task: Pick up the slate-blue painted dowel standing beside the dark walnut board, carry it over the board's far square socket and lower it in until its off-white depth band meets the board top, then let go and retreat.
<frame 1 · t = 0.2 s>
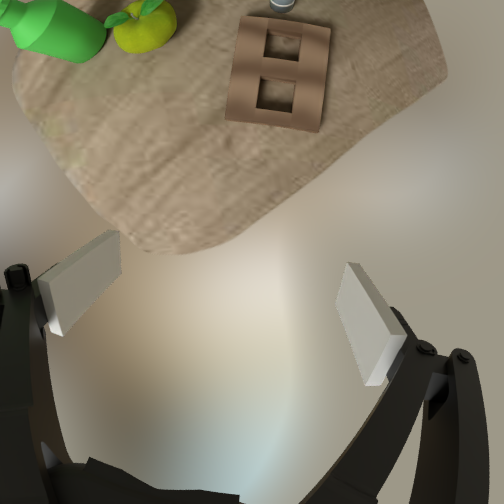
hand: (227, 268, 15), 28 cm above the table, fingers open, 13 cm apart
board: (278, 72, 34), on the table
fruit: (156, 36, 32), on the table
bottle: (89, 43, 32), on the table
peg: (281, 4, 29), on the table
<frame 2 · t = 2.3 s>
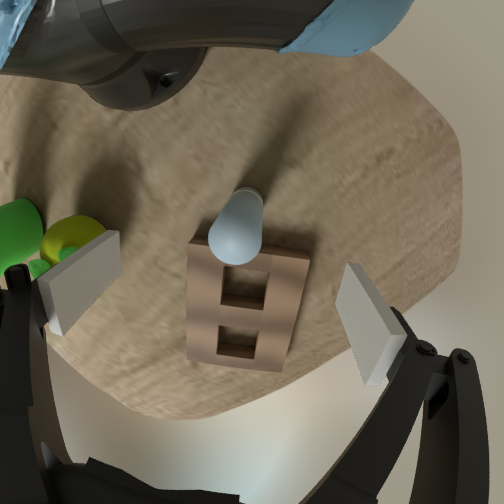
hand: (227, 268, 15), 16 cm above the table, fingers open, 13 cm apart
board: (241, 306, 35), on the table
fruit: (97, 241, 33), on the table
bottle: (29, 224, 32), on the table
peg: (246, 203, 30), on the table
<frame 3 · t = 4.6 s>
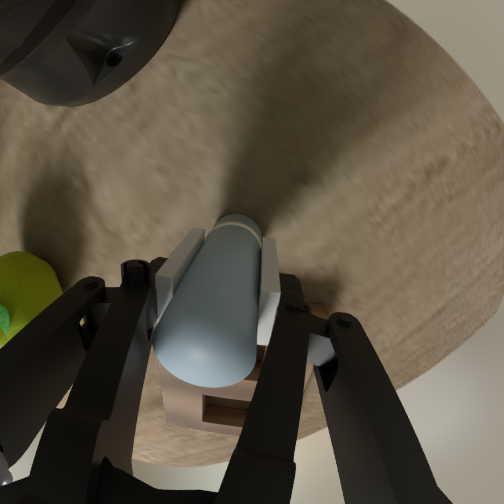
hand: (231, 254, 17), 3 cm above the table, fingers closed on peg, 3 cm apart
board: (233, 369, 25), on the table
fruit: (48, 279, 23), on the table
peg: (236, 238, 20), on the table, touching gripper
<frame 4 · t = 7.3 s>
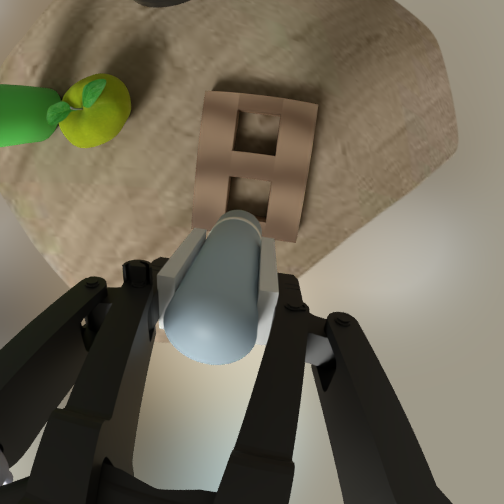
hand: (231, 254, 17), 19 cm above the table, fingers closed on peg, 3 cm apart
board: (253, 164, 33), on the table
fruit: (114, 113, 31), on the table
bottle: (47, 114, 31), on the table
peg: (238, 232, 21), point 15 cm above the table, touching gripper
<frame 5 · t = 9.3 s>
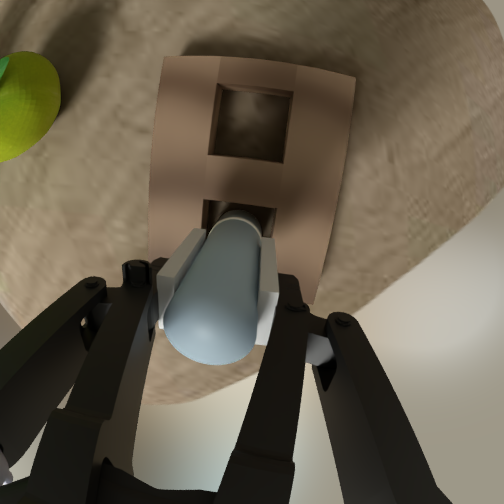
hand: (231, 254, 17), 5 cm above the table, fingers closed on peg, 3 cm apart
board: (245, 177, 20), on the table
fruit: (47, 107, 18), on the table
peg: (238, 232, 21), point 1 cm above the table, touching gripper
when the fingers open (4 cm above the table, at t = 10.1 s): peg stays where it is, on the table.
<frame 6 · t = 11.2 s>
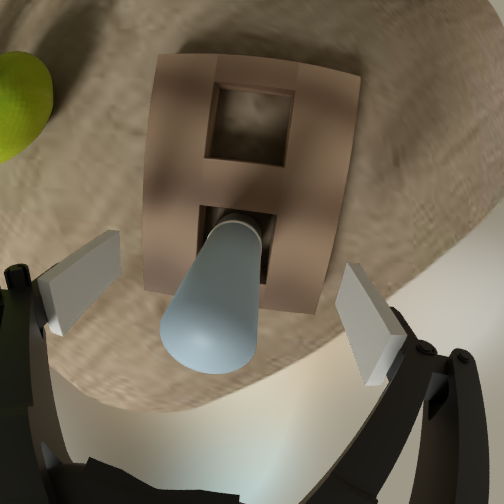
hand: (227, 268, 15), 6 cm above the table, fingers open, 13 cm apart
board: (243, 181, 19), on the table
fruit: (40, 108, 17), on the table
peg: (237, 235, 21), on the table
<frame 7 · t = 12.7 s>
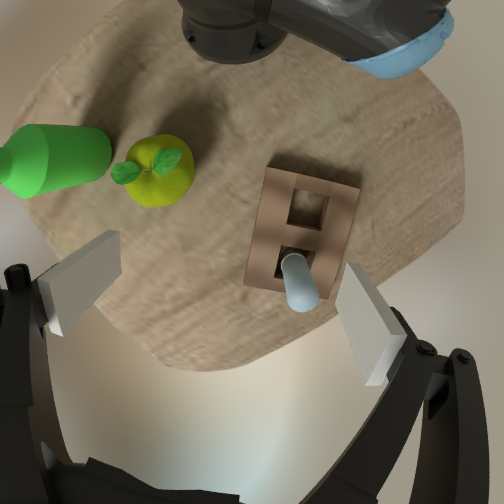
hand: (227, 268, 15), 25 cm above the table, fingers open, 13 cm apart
board: (298, 233, 40), on the table
fruit: (170, 168, 38), on the table
bottle: (93, 154, 37), on the table
peg: (292, 259, 42), on the table
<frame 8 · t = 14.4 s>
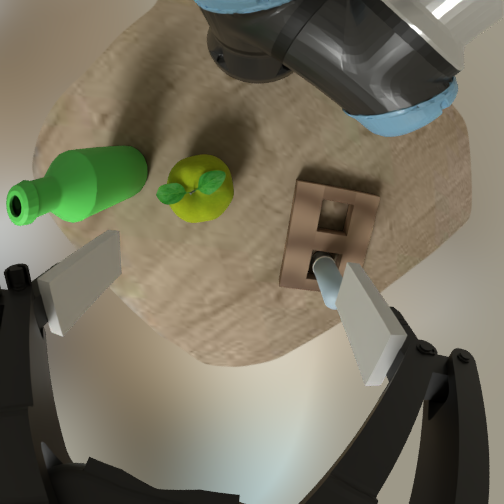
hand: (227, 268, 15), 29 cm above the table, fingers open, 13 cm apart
board: (326, 237, 44), on the table
fruit: (206, 183, 42), on the table
bottle: (126, 171, 42), on the table
peg: (321, 261, 46), on the table
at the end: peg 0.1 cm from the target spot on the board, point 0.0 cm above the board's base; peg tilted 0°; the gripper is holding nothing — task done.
